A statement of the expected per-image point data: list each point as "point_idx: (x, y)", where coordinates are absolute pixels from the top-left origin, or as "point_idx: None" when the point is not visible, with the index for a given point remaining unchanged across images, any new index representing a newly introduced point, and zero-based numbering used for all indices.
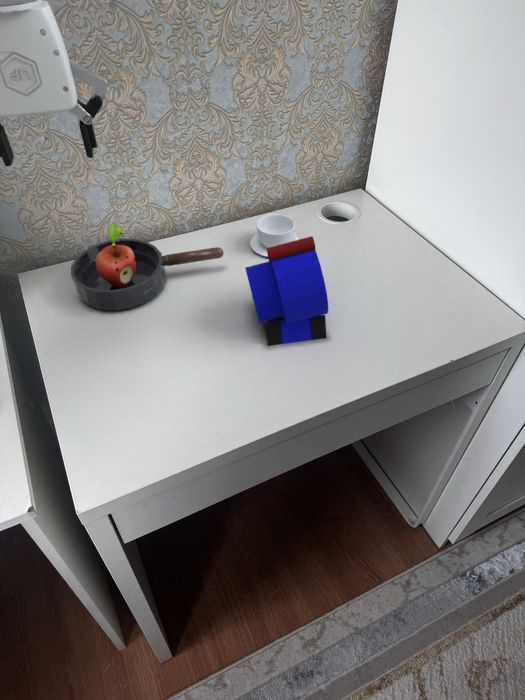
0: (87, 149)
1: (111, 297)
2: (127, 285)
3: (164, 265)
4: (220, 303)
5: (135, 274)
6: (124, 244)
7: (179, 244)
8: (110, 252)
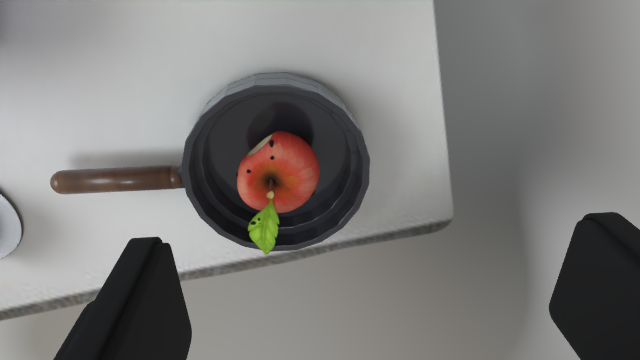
0: (134, 266)
1: (290, 81)
2: None
3: None
4: (69, 53)
5: None
6: None
7: (173, 248)
8: (283, 188)
